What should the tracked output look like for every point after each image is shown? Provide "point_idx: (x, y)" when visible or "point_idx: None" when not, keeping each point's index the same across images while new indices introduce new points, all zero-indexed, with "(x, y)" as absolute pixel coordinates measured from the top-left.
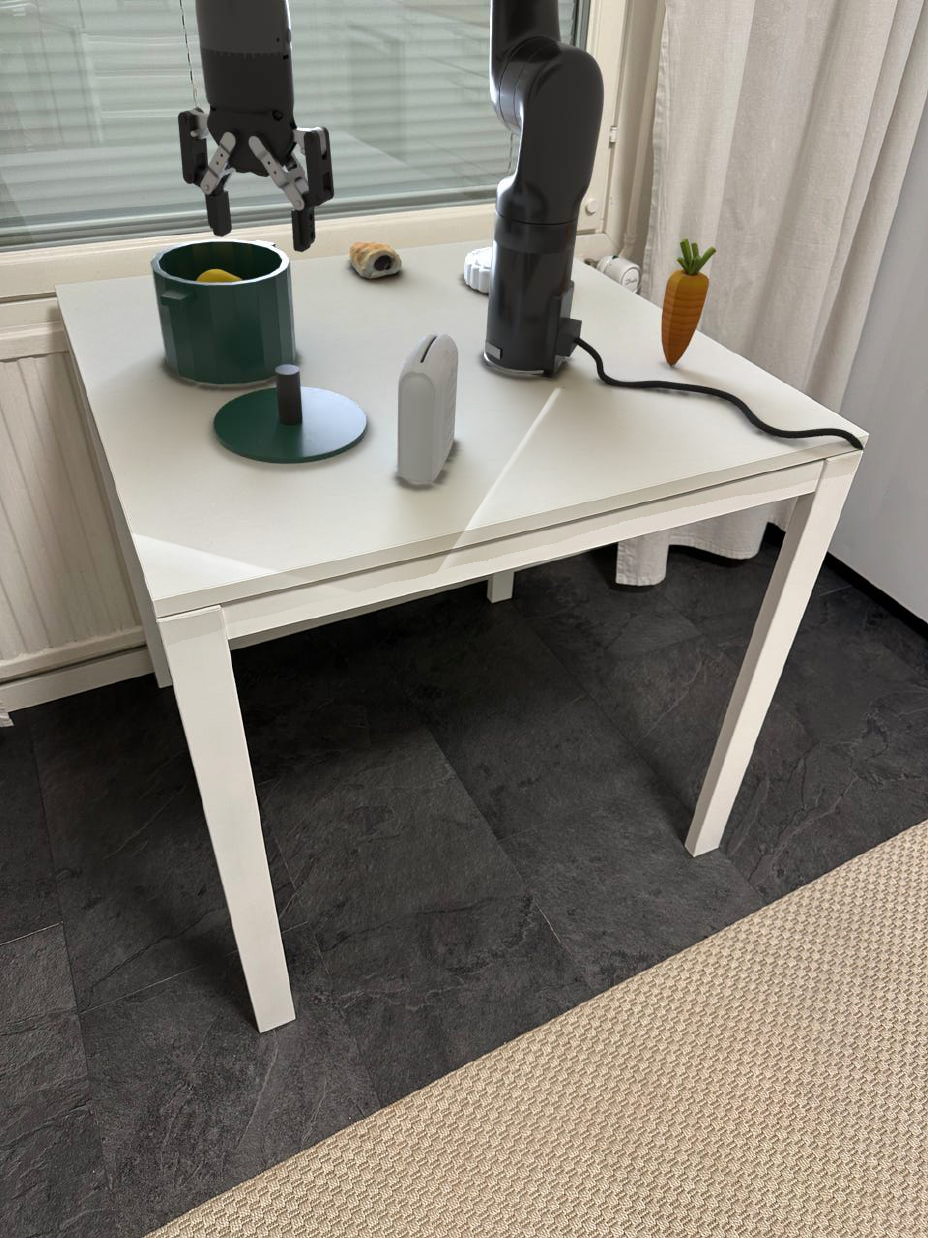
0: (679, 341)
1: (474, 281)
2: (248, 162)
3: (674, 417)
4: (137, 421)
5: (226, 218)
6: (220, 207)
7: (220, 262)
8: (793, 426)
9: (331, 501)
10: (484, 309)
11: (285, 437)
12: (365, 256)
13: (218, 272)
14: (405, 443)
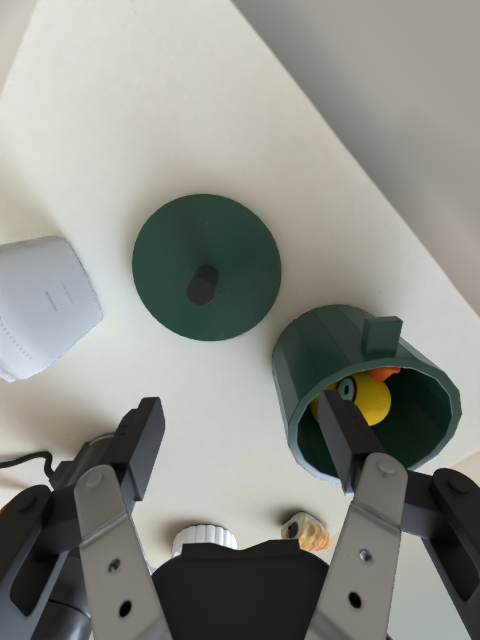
0: (2, 508)
1: (218, 533)
2: (243, 590)
3: None
4: (352, 214)
5: (327, 430)
6: (338, 439)
7: (389, 448)
8: None
9: (92, 170)
10: (194, 506)
11: (190, 242)
12: (307, 531)
13: (368, 415)
14: (29, 242)
